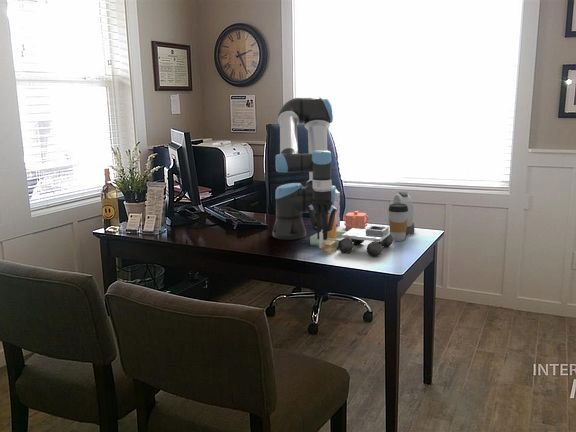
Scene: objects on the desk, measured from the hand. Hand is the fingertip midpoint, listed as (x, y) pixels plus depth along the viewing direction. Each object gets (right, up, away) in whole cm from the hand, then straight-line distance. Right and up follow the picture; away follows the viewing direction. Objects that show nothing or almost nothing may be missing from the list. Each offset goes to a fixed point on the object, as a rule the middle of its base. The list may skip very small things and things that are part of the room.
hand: (322, 247), depth 222 cm
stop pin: (+5, +2, +12) cm, 13 cm away
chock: (+3, -2, -1) cm, 3 cm away
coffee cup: (+33, +2, +15) cm, 37 cm away
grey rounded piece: (+38, +6, +28) cm, 48 cm away
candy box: (+8, +9, +47) cm, 49 cm away
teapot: (+18, +6, +34) cm, 39 cm away
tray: (+5, +1, +12) cm, 13 cm away
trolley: (+18, -1, 0) cm, 18 cm away
